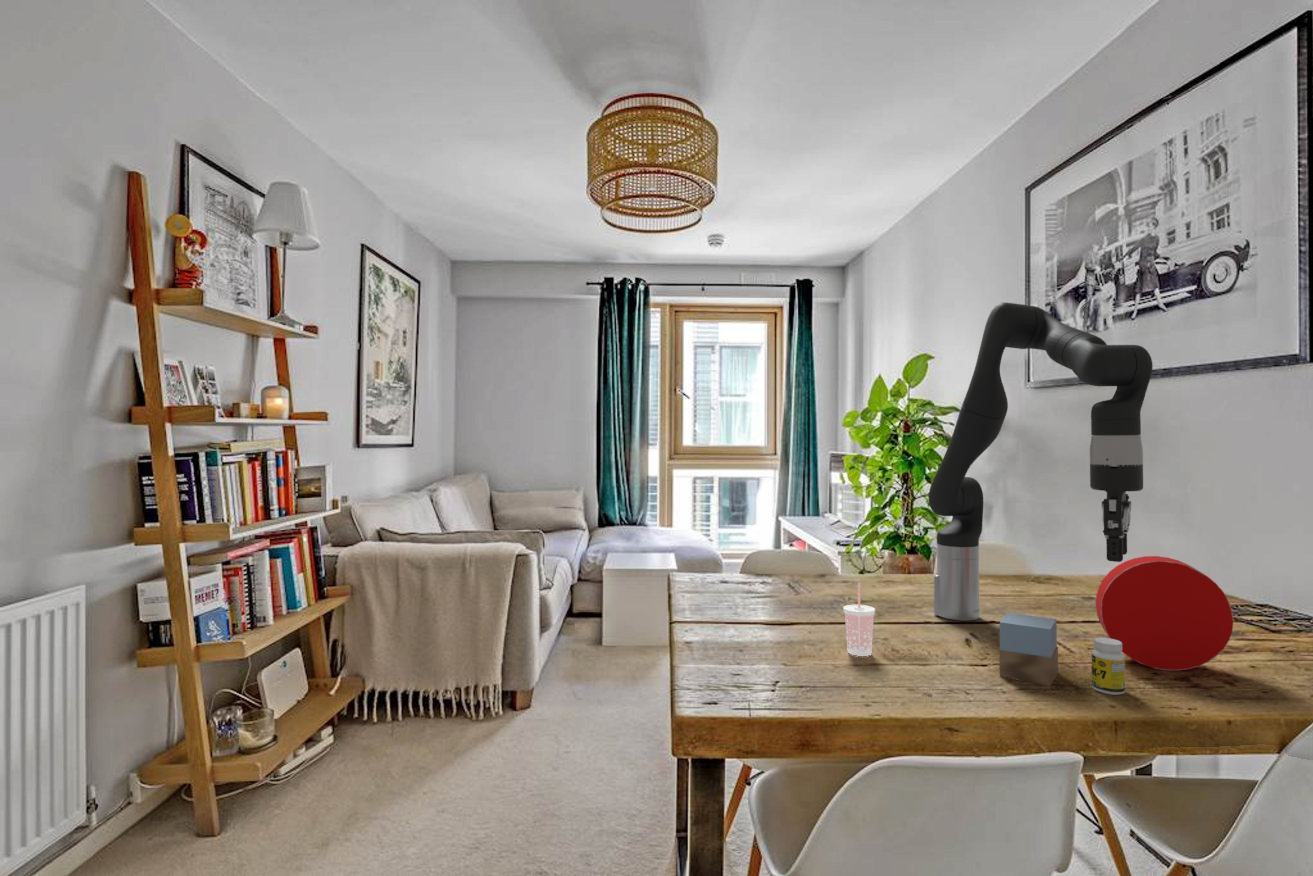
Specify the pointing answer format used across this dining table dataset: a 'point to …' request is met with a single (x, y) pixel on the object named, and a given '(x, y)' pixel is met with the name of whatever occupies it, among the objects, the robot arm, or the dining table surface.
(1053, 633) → the tower top block
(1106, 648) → the supplement bottle
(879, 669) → the dining table surface
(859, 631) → the beverage cup
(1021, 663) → the tower base block
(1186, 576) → the red disc
